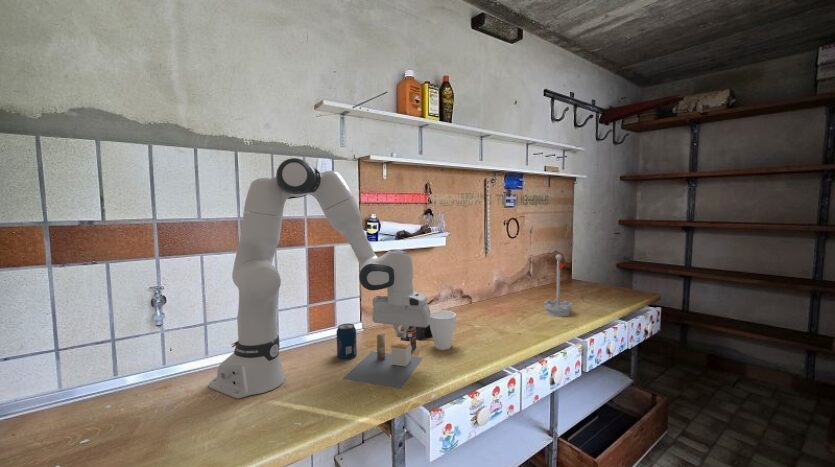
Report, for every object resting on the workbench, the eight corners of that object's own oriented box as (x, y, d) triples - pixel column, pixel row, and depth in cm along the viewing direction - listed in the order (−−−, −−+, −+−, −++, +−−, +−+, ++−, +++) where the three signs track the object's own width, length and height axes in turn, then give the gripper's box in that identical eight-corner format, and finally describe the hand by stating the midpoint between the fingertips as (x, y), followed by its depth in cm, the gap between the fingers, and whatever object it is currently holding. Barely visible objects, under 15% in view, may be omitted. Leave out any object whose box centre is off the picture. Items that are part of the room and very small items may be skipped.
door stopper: (427, 331, 154) (427, 304, 154) (436, 335, 150) (435, 307, 149) (410, 336, 149) (410, 308, 148) (418, 340, 144) (418, 311, 143)
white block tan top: (391, 364, 120) (391, 345, 119) (397, 358, 125) (396, 340, 124) (405, 366, 118) (405, 347, 118) (411, 360, 123) (410, 341, 123)
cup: (461, 350, 134) (461, 315, 133) (439, 356, 128) (438, 320, 127) (445, 341, 143) (445, 308, 142) (423, 347, 137) (423, 313, 136)
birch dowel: (375, 360, 124) (375, 335, 123) (379, 356, 127) (378, 332, 126) (383, 361, 123) (382, 335, 122) (386, 357, 126) (385, 333, 125)
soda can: (335, 356, 130) (334, 324, 129) (354, 353, 132) (353, 321, 132) (339, 364, 123) (338, 330, 123) (358, 360, 126) (357, 327, 125)
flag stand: (539, 310, 184) (540, 253, 182) (563, 309, 186) (564, 252, 184) (551, 317, 171) (552, 256, 169) (577, 316, 173) (578, 255, 171)
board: (341, 382, 111) (341, 378, 111) (371, 354, 132) (371, 351, 131) (401, 391, 104) (401, 388, 104) (423, 360, 125) (423, 357, 125)
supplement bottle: (414, 354, 131) (414, 324, 130) (398, 353, 132) (398, 323, 131) (417, 347, 137) (417, 319, 136) (402, 346, 138) (402, 318, 137)
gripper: (368, 297, 120) (369, 337, 121) (426, 301, 114) (427, 343, 115) (376, 293, 126) (377, 331, 127) (431, 296, 120) (432, 336, 121)
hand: (401, 337), depth 121 cm, fingers closed
